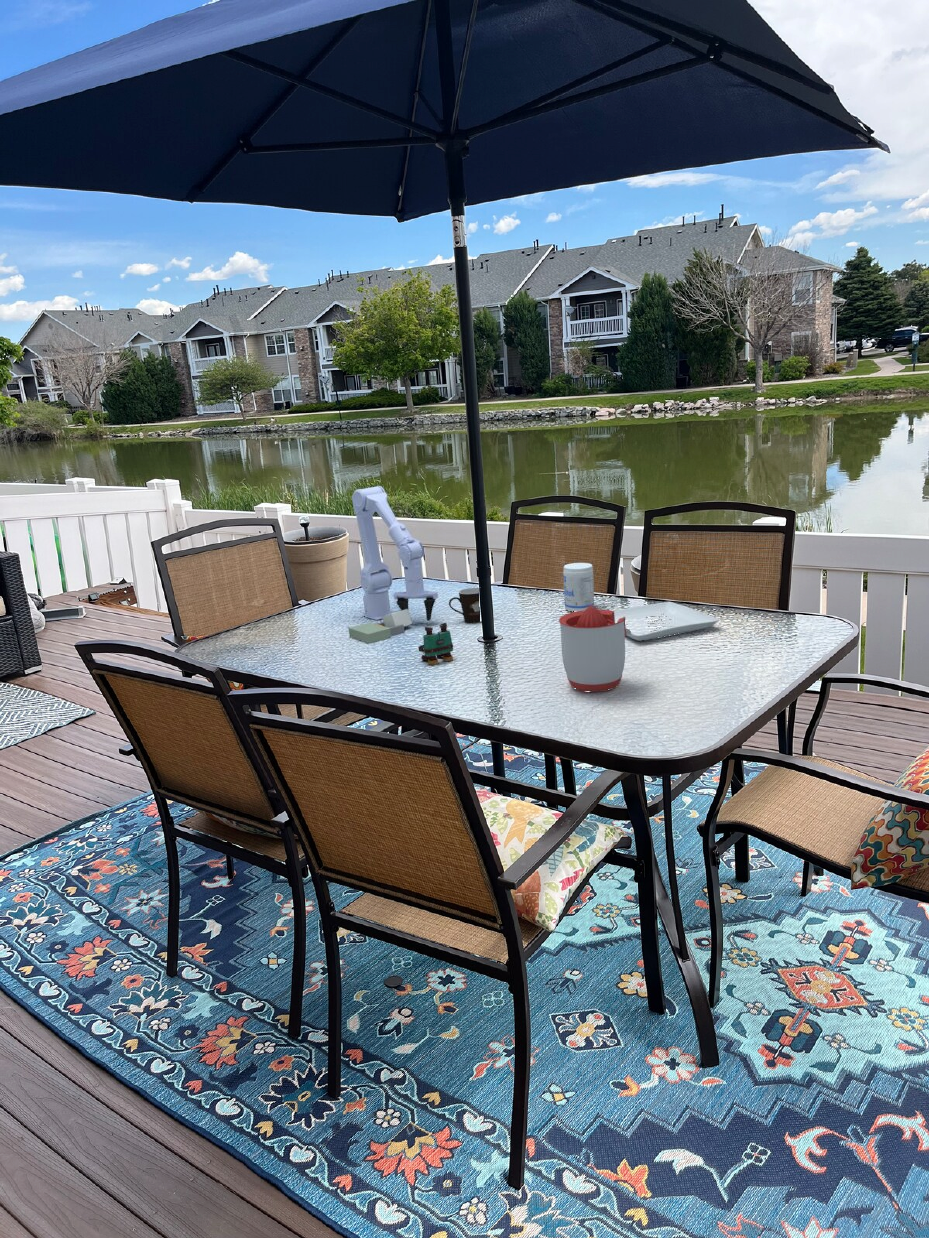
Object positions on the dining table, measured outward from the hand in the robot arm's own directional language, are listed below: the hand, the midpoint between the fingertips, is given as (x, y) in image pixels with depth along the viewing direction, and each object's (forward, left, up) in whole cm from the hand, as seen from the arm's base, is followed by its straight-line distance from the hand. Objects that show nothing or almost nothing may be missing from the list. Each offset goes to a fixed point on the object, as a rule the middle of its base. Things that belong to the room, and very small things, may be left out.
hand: (418, 620), depth 271 cm
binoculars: (+36, -18, -2) cm, 40 cm away
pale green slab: (0, -15, -1) cm, 15 cm away
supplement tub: (+30, +44, -2) cm, 53 cm away
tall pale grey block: (0, -8, -1) cm, 8 cm away
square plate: (+63, +42, -2) cm, 76 cm away
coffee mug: (+11, +13, -2) cm, 17 cm away
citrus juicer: (+85, -4, -2) cm, 85 cm away
